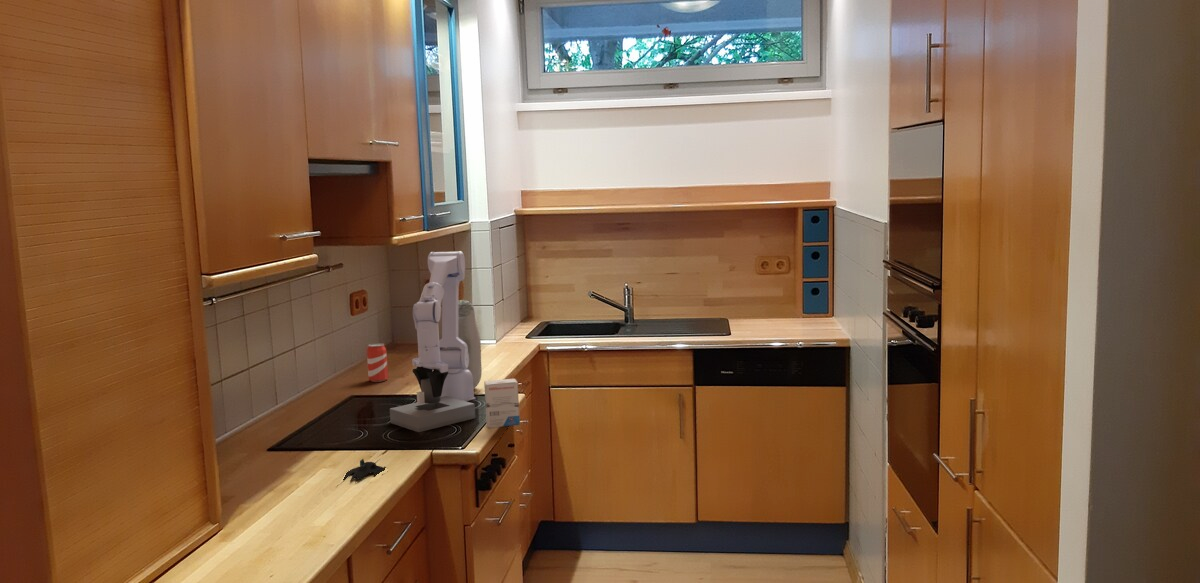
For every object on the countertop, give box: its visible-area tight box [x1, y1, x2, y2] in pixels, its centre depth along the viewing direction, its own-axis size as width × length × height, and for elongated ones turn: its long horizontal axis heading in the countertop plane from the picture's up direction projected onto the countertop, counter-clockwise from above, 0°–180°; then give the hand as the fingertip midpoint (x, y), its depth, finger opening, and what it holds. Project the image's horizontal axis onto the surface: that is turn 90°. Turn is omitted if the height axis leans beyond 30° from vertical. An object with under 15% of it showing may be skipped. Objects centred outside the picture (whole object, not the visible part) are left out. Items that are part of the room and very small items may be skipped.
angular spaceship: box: [343, 458, 387, 483], centre depth 204 cm, size 11×15×3 cm
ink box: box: [483, 378, 521, 429], centre depth 242 cm, size 9×5×12 cm, turn 101°
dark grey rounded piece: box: [416, 377, 441, 404], centre depth 247 cm, size 6×5×6 cm
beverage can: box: [366, 342, 389, 383], centre depth 300 cm, size 6×6×12 cm
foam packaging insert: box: [389, 396, 476, 433], centre depth 249 cm, size 18×14×4 cm
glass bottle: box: [446, 299, 483, 389], centre depth 282 cm, size 10×10×28 cm
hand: (431, 395), depth 248 cm, fingers closed on dark grey rounded piece, 5 cm apart
